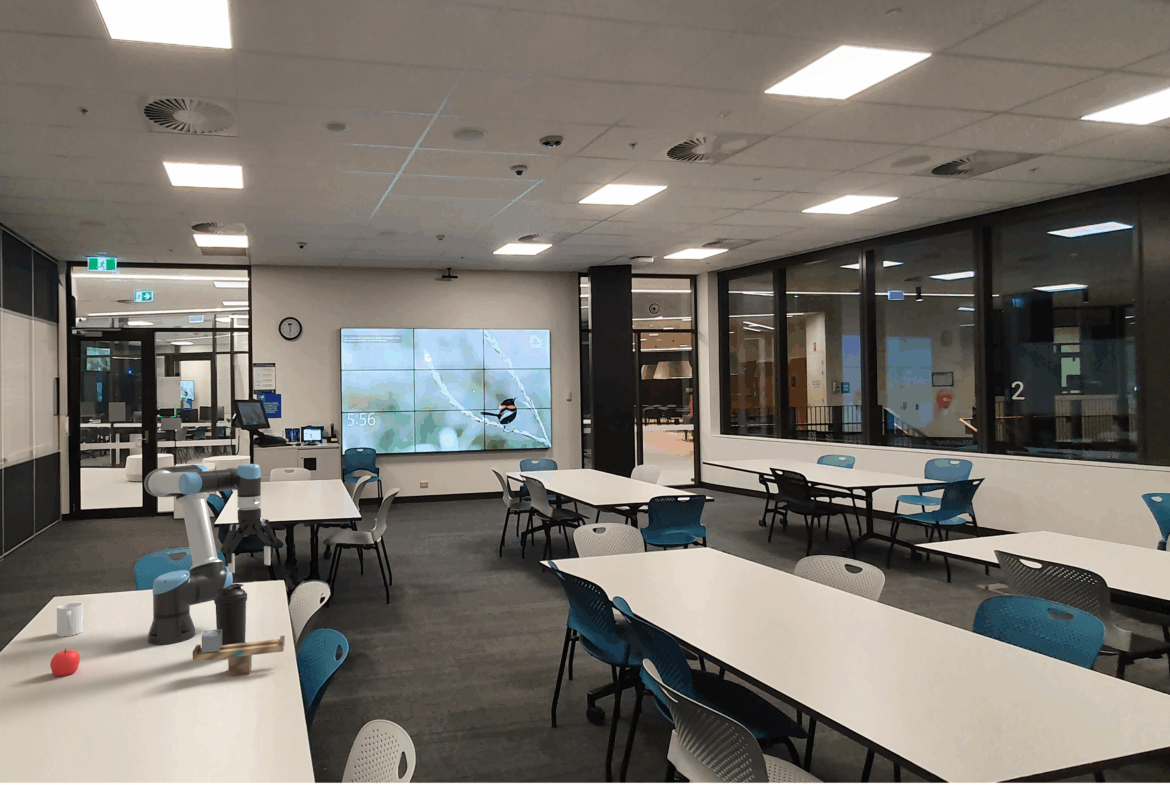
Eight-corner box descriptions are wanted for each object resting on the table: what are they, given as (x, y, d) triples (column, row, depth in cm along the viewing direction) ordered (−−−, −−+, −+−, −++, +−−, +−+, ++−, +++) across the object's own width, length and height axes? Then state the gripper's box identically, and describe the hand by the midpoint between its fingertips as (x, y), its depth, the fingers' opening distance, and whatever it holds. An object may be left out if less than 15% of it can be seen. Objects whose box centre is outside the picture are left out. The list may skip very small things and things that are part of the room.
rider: (201, 659, 230) (201, 636, 230) (205, 652, 237) (205, 630, 237) (219, 657, 232) (219, 634, 232) (222, 650, 238) (222, 628, 238)
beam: (192, 681, 229) (192, 652, 229) (196, 672, 236) (196, 644, 236) (283, 670, 237) (283, 642, 237) (284, 662, 244) (284, 635, 244)
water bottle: (254, 650, 257) (253, 584, 257) (229, 660, 247) (228, 591, 248) (233, 646, 261) (233, 581, 261) (208, 656, 252) (207, 588, 252)
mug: (57, 632, 279) (57, 605, 279) (83, 629, 283) (82, 601, 283) (55, 641, 269) (55, 612, 269) (81, 637, 273) (81, 609, 273)
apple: (77, 667, 243) (77, 642, 243) (83, 673, 237) (82, 648, 237) (47, 673, 237) (47, 648, 237) (52, 680, 231) (52, 654, 231)
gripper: (221, 513, 249) (221, 577, 249) (287, 504, 270) (287, 562, 270) (208, 512, 253) (209, 574, 253) (274, 502, 274) (275, 560, 274)
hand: (249, 568), depth 262 cm, fingers open, 13 cm apart
